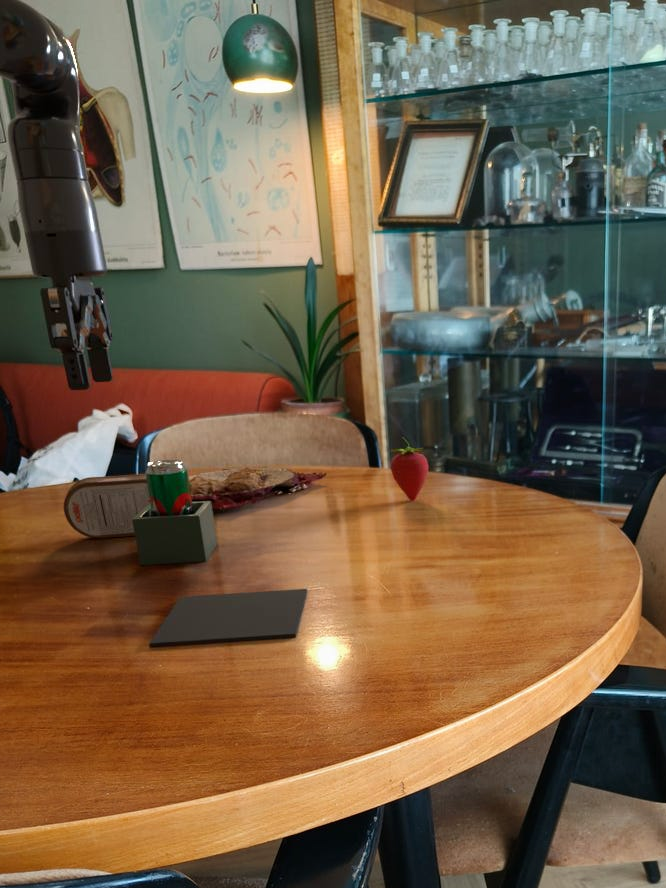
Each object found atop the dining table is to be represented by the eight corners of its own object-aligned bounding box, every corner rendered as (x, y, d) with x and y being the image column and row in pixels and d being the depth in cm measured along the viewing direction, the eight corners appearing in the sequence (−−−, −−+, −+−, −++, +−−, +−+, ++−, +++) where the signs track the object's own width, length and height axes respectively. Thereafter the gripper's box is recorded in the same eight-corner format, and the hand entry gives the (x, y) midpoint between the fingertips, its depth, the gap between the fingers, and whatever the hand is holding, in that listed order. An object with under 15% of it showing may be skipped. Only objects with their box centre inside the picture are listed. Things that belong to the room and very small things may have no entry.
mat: (149, 647, 85) (148, 643, 85) (180, 600, 98) (179, 596, 98) (295, 637, 86) (295, 633, 86) (307, 591, 99) (307, 588, 99)
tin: (182, 528, 129) (173, 470, 125) (180, 533, 126) (170, 474, 123) (73, 537, 126) (60, 478, 123) (68, 543, 123) (55, 483, 120)
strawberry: (396, 507, 136) (391, 442, 132) (390, 497, 143) (385, 434, 139) (434, 504, 137) (430, 439, 134) (426, 494, 144) (422, 432, 140)
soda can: (202, 547, 118) (188, 458, 114) (197, 558, 114) (182, 465, 109) (163, 550, 117) (147, 460, 113) (157, 561, 113) (140, 467, 108)
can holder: (140, 565, 111) (131, 519, 109) (155, 547, 119) (148, 504, 117) (206, 561, 112) (199, 515, 110) (217, 544, 120) (211, 500, 117)
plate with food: (329, 484, 155) (327, 464, 154) (230, 513, 134) (227, 491, 133) (225, 477, 166) (223, 459, 164) (117, 504, 144) (114, 483, 143)
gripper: (49, 234, 101) (79, 381, 107) (-2, 226, 88) (35, 394, 94) (117, 231, 101) (142, 378, 107) (76, 223, 88) (107, 390, 94)
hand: (92, 385), depth 101 cm, fingers open, 8 cm apart
